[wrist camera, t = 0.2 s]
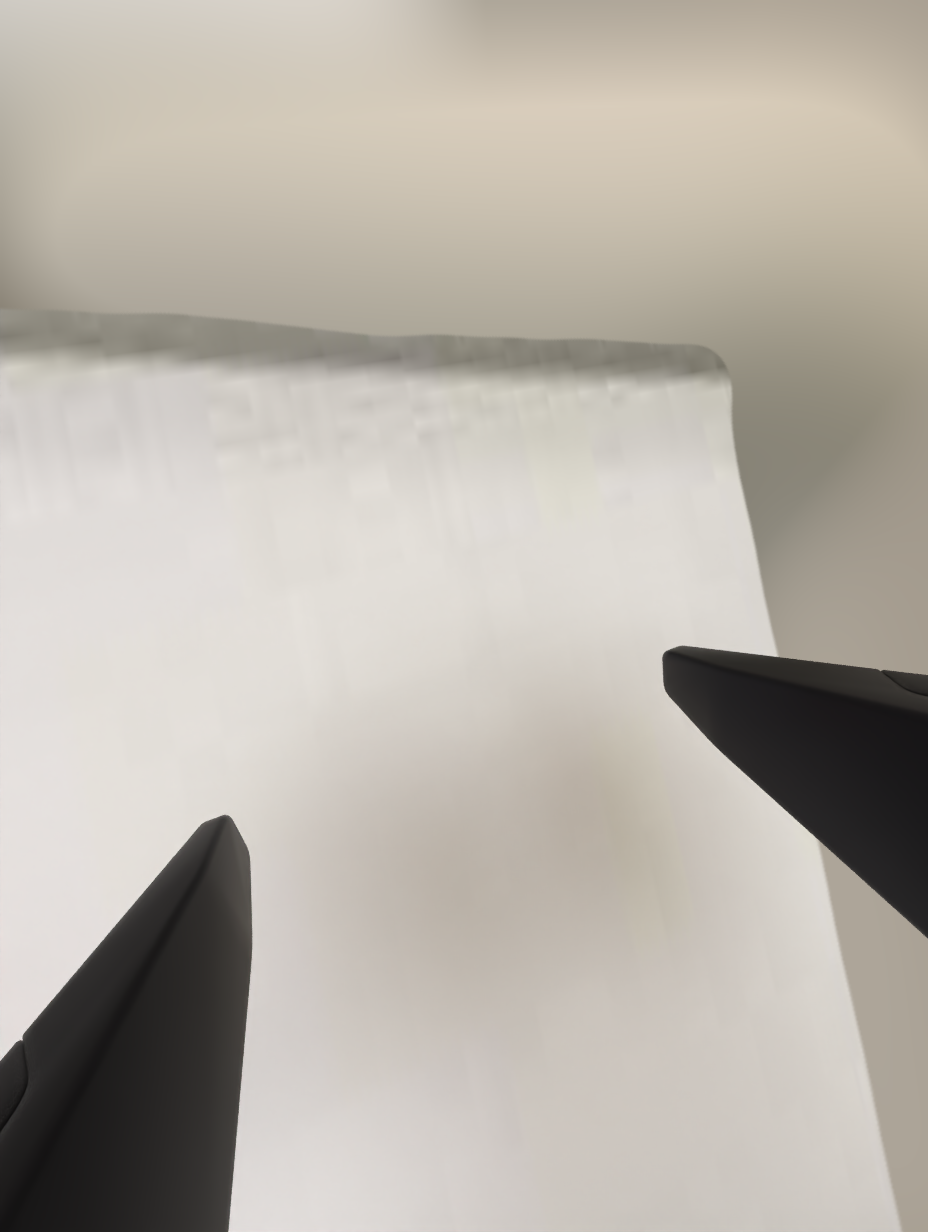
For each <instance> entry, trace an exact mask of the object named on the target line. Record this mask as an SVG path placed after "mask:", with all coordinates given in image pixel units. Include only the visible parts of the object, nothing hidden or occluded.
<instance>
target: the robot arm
mask: <svg viewBox="0 0 928 1232" xmlns="http://www.w3.org/2000/svg"><path fill="white" fill-rule="evenodd" d="M662 661H663V682H664V688H665V690H666V692H667V694H668V695H669V697H670V698H671V699H672V700H673V701H674V702H675V703H676V704H677V705H678V706H679V708H680V709H681V710H682V711H683V712H684V713H685V714H686V715H687V716H688V717H689V719H690V720H691V721H692V722H693V723H694V724H695V725H696V726H697V727H698V728H699V729H700V731H701V732H702V733H703V734H704V735H705V736H706V737H707V738H708V739H709V740H710V741H711V742H712V743H713V744H714V745H715V746H716V747H717V748H718V749H719V750H720V751H721V752H722V753H723V754H724V755H725V756H726V757H727V758H728V759H729V760H731V761H732V762H733V763H734V764H735V765H736V766H737V767H738V768H739V769H740V770H742V771H743V772H744V773H745V774H746V775H747V776H748V777H749V778H750V779H752V780H753V781H754V782H755V783H756V784H757V785H758V786H759V787H760V788H762V789H763V790H764V791H765V792H766V793H767V794H768V795H769V796H770V797H772V798H773V799H774V800H775V801H776V802H777V803H778V804H779V805H780V806H782V807H783V808H784V809H785V810H786V811H787V812H788V813H789V814H790V815H791V816H793V817H794V818H795V819H796V820H797V821H798V822H799V823H800V824H801V825H803V826H804V827H805V828H806V829H807V830H808V831H809V832H810V833H811V834H813V835H814V836H815V837H816V838H817V839H818V840H819V841H820V842H822V843H823V844H824V845H825V846H826V847H827V848H828V849H829V850H830V851H831V852H833V853H834V854H835V855H836V856H837V857H838V858H839V859H840V860H841V861H842V862H844V863H845V864H846V865H847V866H848V867H849V868H850V869H851V870H853V871H854V872H855V873H856V874H857V875H858V876H859V877H860V878H861V879H862V880H864V881H865V882H866V883H867V884H868V885H869V886H870V887H871V888H872V889H874V890H875V891H876V892H877V893H878V894H879V895H880V896H881V897H882V898H884V899H885V900H886V901H887V902H888V903H889V904H890V905H891V906H892V907H893V908H895V909H896V910H897V911H898V912H899V913H900V914H901V915H902V916H903V917H905V918H906V919H907V920H908V921H909V922H910V923H911V924H912V925H913V926H915V927H916V928H917V929H918V930H919V931H920V932H921V933H922V934H923V935H925V936H926V937H927V938H928V675H922V674H913V673H904V672H896V671H887V670H882V671H879V670H877V669H871V668H862V667H854V666H846V665H838V664H830V663H821V662H813V661H804V660H797V659H789V658H780V657H772V656H764V655H756V654H748V653H739V652H731V651H723V650H715V649H706V648H698V647H690V646H678V647H676V648H673V649H670V650H668V651H666V652H665V653H664V654H663V658H662ZM251 960H252V907H251V871H250V855H249V851H248V848H247V846H246V844H245V842H244V840H243V838H242V836H241V835H240V833H239V831H238V829H237V827H236V825H235V823H234V821H233V820H232V818H231V817H230V816H228V815H222V816H220V817H217V818H214V819H212V820H209V821H206V822H204V823H203V824H201V825H200V827H199V828H198V829H197V830H196V831H195V832H194V834H193V835H192V836H191V837H190V838H189V839H188V841H187V842H186V843H185V844H184V845H183V847H182V848H181V849H180V850H179V851H178V852H177V854H176V855H175V856H174V857H173V858H172V860H171V861H170V862H169V863H168V864H167V865H166V867H165V868H164V869H163V870H162V871H161V873H160V874H159V875H158V876H157V877H156V878H155V880H154V881H153V882H152V883H151V884H150V886H149V887H148V888H147V889H146V890H145V891H144V893H143V894H142V895H141V896H140V897H139V898H138V900H137V901H136V902H135V903H134V904H133V906H132V907H131V908H130V909H129V910H128V911H127V913H126V914H125V915H124V916H123V917H122V919H121V920H120V921H119V922H118V923H117V924H116V926H115V927H114V928H113V929H112V930H111V932H110V933H109V934H108V935H107V936H106V937H105V939H104V940H103V941H102V942H101V943H100V944H99V946H98V947H97V948H96V949H95V950H94V952H93V953H92V954H91V955H90V956H89V957H88V959H87V960H86V961H85V962H84V963H83V965H82V966H81V967H80V968H79V969H78V970H77V972H76V973H75V974H74V975H73V976H72V977H71V979H70V980H69V981H68V982H67V983H66V985H65V986H64V987H63V988H62V989H61V990H60V992H59V993H58V994H57V995H56V996H55V998H54V999H53V1000H52V1001H51V1002H50V1003H49V1005H48V1006H47V1007H46V1008H45V1009H44V1010H43V1012H42V1013H41V1014H40V1015H39V1016H38V1018H37V1019H36V1020H35V1021H34V1022H33V1023H32V1025H31V1026H30V1027H29V1028H28V1029H27V1031H26V1032H25V1033H24V1034H23V1041H22V1040H20V1041H18V1042H16V1043H15V1044H14V1046H13V1047H12V1048H11V1049H10V1050H9V1052H8V1053H7V1054H6V1055H5V1056H4V1058H3V1059H2V1060H1V1061H0V1232H228V1229H229V1218H230V1206H231V1194H232V1183H233V1171H234V1159H235V1148H236V1136H237V1124H238V1113H239V1101H240V1089H241V1078H242V1066H243V1054H244V1042H245V1031H246V1019H247V1007H248V996H249V984H250V972H251Z"/></svg>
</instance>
